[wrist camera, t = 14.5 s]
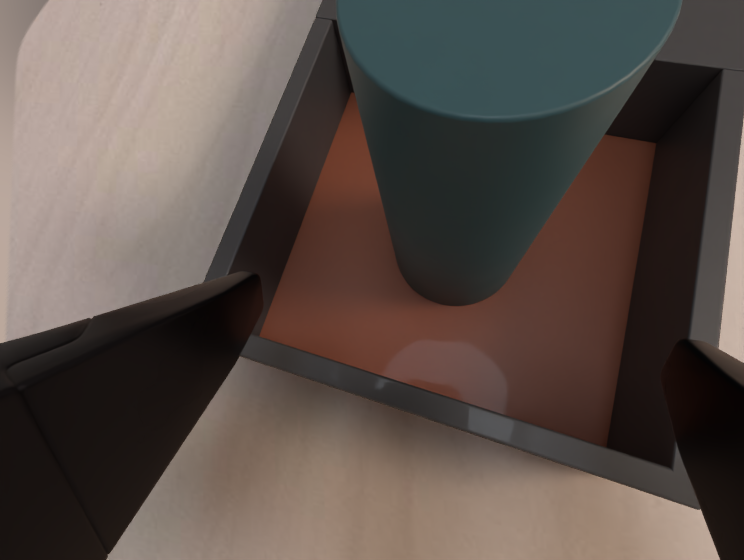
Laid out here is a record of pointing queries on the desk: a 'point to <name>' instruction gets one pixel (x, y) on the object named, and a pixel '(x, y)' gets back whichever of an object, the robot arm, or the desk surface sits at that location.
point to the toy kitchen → (529, 279)
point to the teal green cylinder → (487, 119)
